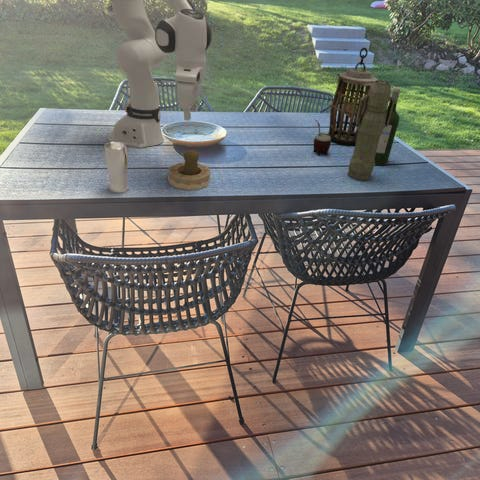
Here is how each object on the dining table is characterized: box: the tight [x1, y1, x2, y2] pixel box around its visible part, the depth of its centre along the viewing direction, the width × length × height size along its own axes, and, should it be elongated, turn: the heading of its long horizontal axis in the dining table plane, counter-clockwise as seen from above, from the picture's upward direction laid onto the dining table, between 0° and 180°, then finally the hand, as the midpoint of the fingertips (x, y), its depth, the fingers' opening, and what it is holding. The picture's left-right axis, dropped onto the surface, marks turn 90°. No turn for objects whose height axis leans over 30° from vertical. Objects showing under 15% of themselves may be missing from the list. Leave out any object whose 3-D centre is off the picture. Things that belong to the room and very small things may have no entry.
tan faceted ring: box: [167, 161, 211, 191], centre depth 150 cm, size 14×14×4 cm
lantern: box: [327, 46, 379, 147], centre depth 189 cm, size 19×19×40 cm
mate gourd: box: [312, 119, 332, 157], centre depth 179 cm, size 8×8×15 cm
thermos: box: [347, 80, 395, 182], centre depth 156 cm, size 9×12×35 cm
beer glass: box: [104, 141, 129, 194], centre depth 137 cm, size 7×7×15 cm
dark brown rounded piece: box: [182, 149, 200, 176], centre depth 148 cm, size 6×6×11 cm
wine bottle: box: [374, 87, 401, 166], centre depth 171 cm, size 8×8×30 cm
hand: (190, 115), depth 138 cm, fingers open, 8 cm apart
